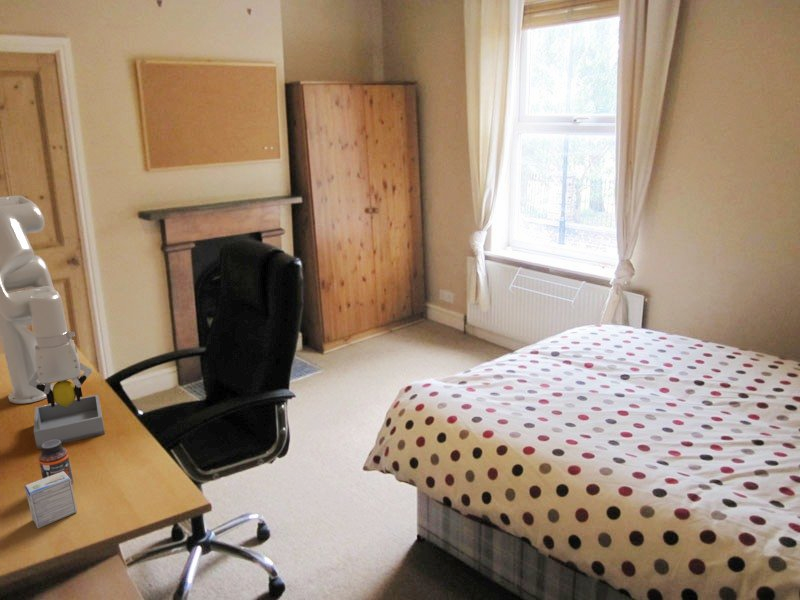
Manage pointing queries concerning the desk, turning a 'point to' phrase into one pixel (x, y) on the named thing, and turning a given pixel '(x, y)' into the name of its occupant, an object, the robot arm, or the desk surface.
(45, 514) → the medicine box
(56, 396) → the lemon
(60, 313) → the robot arm
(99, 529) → the desk surface
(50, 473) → the supplement bottle
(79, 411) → the tote
